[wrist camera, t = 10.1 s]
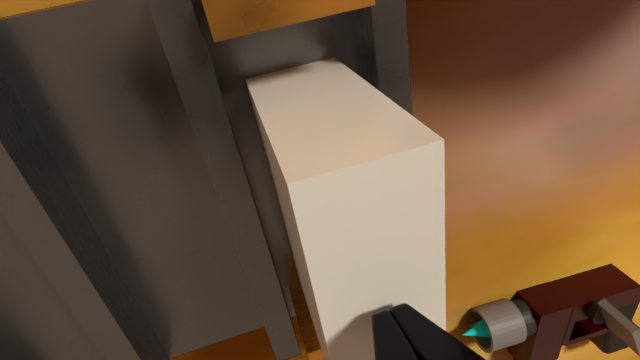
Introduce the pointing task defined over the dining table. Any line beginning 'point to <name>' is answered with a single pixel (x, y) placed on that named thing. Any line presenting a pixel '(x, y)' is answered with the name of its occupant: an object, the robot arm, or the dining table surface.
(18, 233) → the rack
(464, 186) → the dining table surface
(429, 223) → the block
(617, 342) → the toy gun
